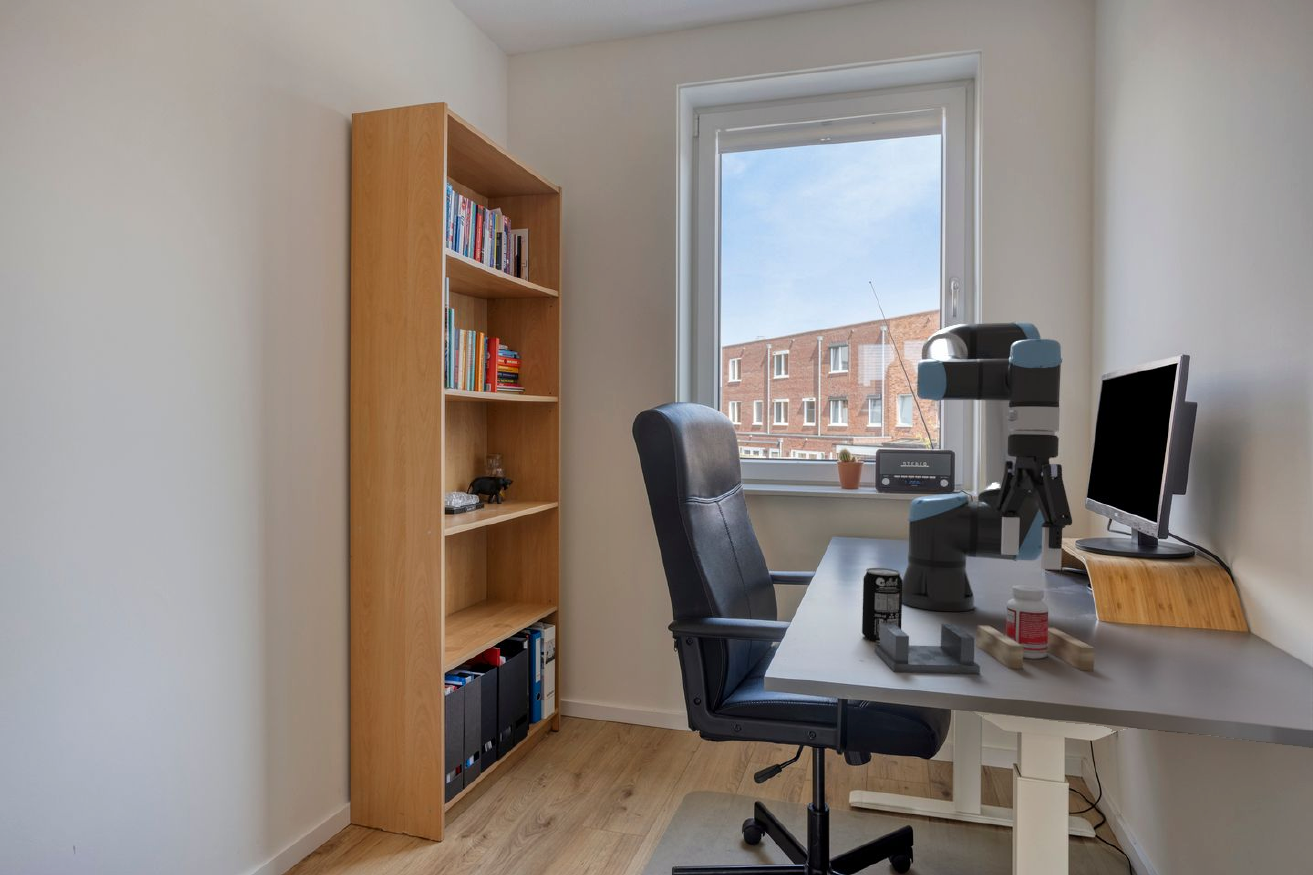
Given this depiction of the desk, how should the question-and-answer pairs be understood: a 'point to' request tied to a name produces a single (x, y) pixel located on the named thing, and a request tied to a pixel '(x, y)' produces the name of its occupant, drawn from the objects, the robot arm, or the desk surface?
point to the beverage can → (881, 600)
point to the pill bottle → (1028, 620)
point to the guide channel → (1057, 645)
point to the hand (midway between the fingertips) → (1029, 561)
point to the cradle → (927, 651)
